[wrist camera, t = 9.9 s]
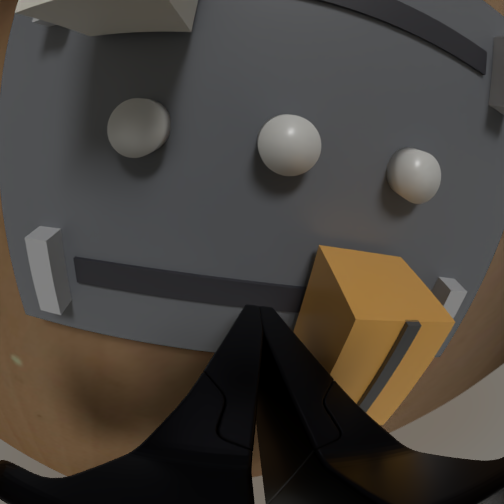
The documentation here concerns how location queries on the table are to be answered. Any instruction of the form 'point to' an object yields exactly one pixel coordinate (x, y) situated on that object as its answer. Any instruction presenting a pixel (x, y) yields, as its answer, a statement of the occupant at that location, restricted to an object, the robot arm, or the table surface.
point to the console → (249, 159)
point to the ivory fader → (113, 15)
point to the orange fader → (371, 326)
